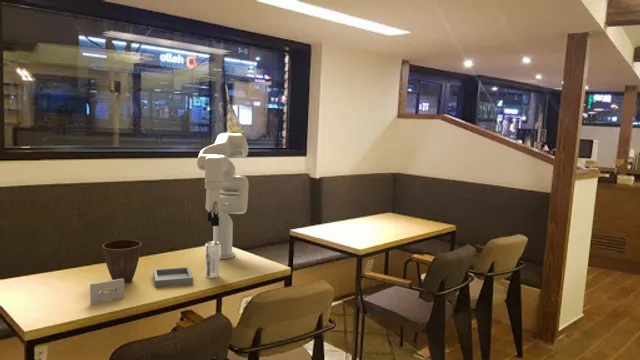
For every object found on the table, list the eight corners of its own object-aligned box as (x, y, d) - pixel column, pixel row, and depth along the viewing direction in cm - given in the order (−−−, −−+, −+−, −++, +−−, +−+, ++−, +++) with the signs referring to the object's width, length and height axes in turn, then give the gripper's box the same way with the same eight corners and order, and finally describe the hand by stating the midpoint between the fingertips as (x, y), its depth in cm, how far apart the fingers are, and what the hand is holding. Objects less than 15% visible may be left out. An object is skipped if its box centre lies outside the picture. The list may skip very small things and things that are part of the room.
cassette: (123, 297, 185) (123, 277, 184) (124, 298, 183) (124, 279, 182) (89, 303, 177) (89, 283, 176) (91, 305, 176) (90, 284, 175)
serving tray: (153, 276, 209) (153, 269, 209) (188, 273, 215) (188, 266, 215) (155, 287, 196) (155, 280, 195) (192, 284, 201) (193, 277, 201)
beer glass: (211, 279, 208) (211, 246, 206) (201, 276, 212) (201, 243, 210) (223, 276, 213) (224, 243, 211) (213, 272, 217) (213, 240, 216)
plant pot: (127, 289, 193) (127, 250, 191) (95, 285, 196) (94, 247, 194) (148, 277, 207) (148, 241, 205) (117, 273, 210) (117, 238, 208)
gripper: (202, 182, 214) (201, 219, 216) (208, 187, 198) (207, 228, 200) (218, 182, 217) (218, 219, 219) (226, 187, 201) (225, 227, 203)
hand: (213, 223), depth 209 cm, fingers open, 9 cm apart
